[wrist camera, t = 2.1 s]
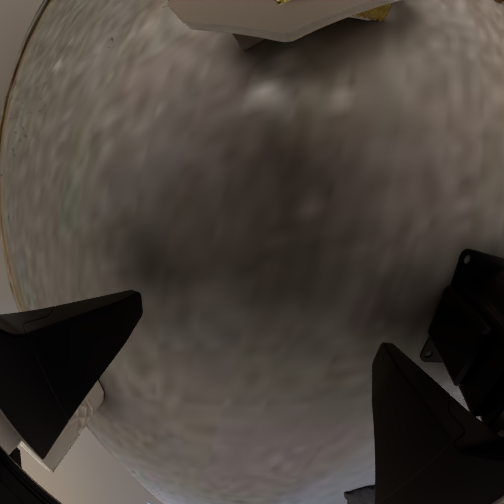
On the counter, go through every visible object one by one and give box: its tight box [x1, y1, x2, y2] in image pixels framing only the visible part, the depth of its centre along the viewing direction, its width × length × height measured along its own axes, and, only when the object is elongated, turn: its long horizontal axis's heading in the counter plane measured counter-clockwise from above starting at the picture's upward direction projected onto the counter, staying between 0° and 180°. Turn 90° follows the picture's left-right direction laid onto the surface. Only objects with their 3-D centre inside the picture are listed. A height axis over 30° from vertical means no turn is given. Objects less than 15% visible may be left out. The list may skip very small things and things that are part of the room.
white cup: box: [20, 381, 104, 473], centre depth 15 cm, size 8×8×10 cm
